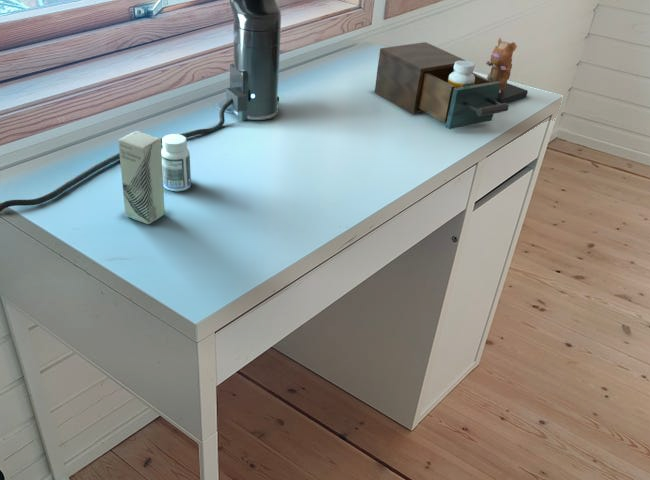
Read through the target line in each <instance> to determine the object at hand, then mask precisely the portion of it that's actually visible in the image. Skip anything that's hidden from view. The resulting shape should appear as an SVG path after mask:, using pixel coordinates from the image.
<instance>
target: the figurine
mask: <svg viewBox="0 0 650 480" xmlns="http://www.w3.org/2000/svg"><path fill="white" fill-rule="evenodd" d="M516 50H517V44H516V42H514V41H512V42H508V41H502V38H501V37H499V39H498V41H497V45H495V46H494V48H493V50H492V51H491V55H490V60H487V61H486V63H485V65H487V66H489V67H491V69H490V72H489V73H488V74H487V77H486V79H488V80H490V82H495V81H498V82H500V83H501V85H500V89H499V93H498V97H497V102H499V103H501V104H502V103H507V104H508V105H509V104H510V103H513V102H516V101H519V100H522V99H525V98H527V95H528V92H529V90H527V89H525V88H522V87H518V86H516V85H513V84H511V83H508V80H510V77H511V71H512V69H513V63H512V62H513V54H514V52H515V51H516Z"/></svg>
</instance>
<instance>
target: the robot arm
mask: <svg viewBox="0 0 650 480" xmlns="http://www.w3.org/2000/svg"><path fill="white" fill-rule="evenodd" d="M229 5H230V9H231V12H232V18H233V63H230V64H229V87H228V88H226V93H225V94H226V102H225V103H224V104H223V105H222V106H221V108H220V110H219V114H218V115H219V121H218V123H217V124H216V125H215V126H213V127H209V128H199V129H194V130H191V131H188V132H187V131H186V132H183V133H179V135H183V136H185V137H186V139H187V138H191V137H195V136H199V135H207V134H210V133H213V132H216V131H219V130H220V129H221V128H222V127H223V126H224V124H225V111H226V110H227V109H228V108H229V111H230V112H231V113H233V114H234V115H235V116H236V117H237V118H239V119H240V120H242V121H247V120H248V121H265V120H270V119H272V118H275V117H276V116H277V115H278V114H279V108H278V105H279V104H280V96H279V80H280V79H279V77H280V55H281V53H280V52H281V30H282V12H281V9H280V6H279V5H278V3H277V0H229ZM160 139H161V145H162V139H163V137H161V138H160ZM118 160H120V152H118V153H116V154H114V155H111V156H109V157H108V158H106V159H104V160H102V161H100V162H98V163H96V164H95V165H93V166H91V167H90V168H88V169H86V170H85V171H83V172H82V173H80V174H78V175H77V176H75V177H74V178H71V179H70V180H68V181H67V182H65V183H64V184H62V185H61V186H59V187H57V188H55V189H54V190H53V191H50V192H49V193H47V194H45V195H42V196H40V197H37V198H31V199H9V200H6V201H3V202H1V203H0V213H1V212H2V211H4V210H5V209H7V208H9V207H21V206H24V207H25V206H26V207H27V206H37V205H41V204H44V203H47V202H49V201H51V200H53V199H54V198H56V197H58V196H59V195H61V194H62V193H64V192H66V191H67V190H68V189H70V188H72V187H73V186H76V185H77V184H78V183H80V182H81V181H83V180H85V179H86V178H88V177H89V176H91V175H93V174H94V173H96V172H98V171H99V170H101V169H103V168H105V167H107V166H109V165H110V164H112V163H114V162H116V161H118ZM31 396H32V394H30V395H29V397H31Z"/></svg>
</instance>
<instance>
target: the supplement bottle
mask: <svg viewBox="0 0 650 480" xmlns="http://www.w3.org/2000/svg"><path fill="white" fill-rule="evenodd" d="M475 66H476V64H475V62H472V61H469V60H466V61H456V62H455V64H454V72H452V73H451V74H450V75H449V78H448V83H449V84H451V85H453V86H455V88H460V87H466V86H471V85H474V83H475V76H474V75H473V74H472V72H473V73H474V71H475V68H476V67H475Z"/></svg>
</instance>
